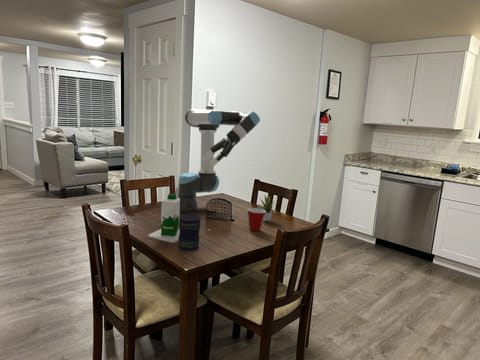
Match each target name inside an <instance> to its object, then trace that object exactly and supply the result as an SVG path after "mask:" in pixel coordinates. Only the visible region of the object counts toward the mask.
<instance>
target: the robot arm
mask: <svg viewBox="0 0 480 360" xmlns="http://www.w3.org/2000/svg"><path fill="white" fill-rule="evenodd" d="M184 120H185V123H186V124H187V125H188V126H190V127H192V128H198V132H200V170H199V171H198V174H197V172H184V173H181V174H180V175H179V176H178V193H177V198H180V212H181V213H182V212H183V213H188V212H189V213H193V212H196V211H198V210H199V204H198V199H197V194H199V193H200V194H201V193H213V192H216V191H217V190H218V188H219V186H220V177H219V175H217V173H216V171H215V170H214V169H215V168H214V167H215V166H216V165H217V164H218V163H219V162H220V161H221V160H222V159H223V158H227V157H228V156H229V154H230V153H231V152H232V150H233V149H234V147H235V146H236V145H238V144H239V143H240V142H241V141H242V139H244V138H245V137H246V136H247V134H249V133H250V132H251V131H252V130H253V129H255V127H257V125H258V124H259V123H260V122H261V118H260V116H259V114H257V113H256V111H252V110H251V111H249V112H248V113H243V112H241V111H238V110H234V111H232V110H231V111H229V110H219V109H202V108H201V109H200V108H199V109H198V108H192V109H190V110H189V109H188V110H187V112H185V115H184ZM220 126H233V127H232V129H231V130H229V131H228V132H227V133H226V137H227V138H224V137H223V138H222V139H220V141H219V142H216V143H215V133H216V132H217V129H219V128H220ZM220 150H221V151H220ZM218 151H220V152H219V153H218V154H217V155H216V156H215V154H216V153H217V152H218Z"/></svg>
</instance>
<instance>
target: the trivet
mask: <svg viewBox="0 0 480 360" xmlns="http://www.w3.org/2000/svg"><path fill="white" fill-rule="evenodd" d="M179 231H180V229H178V232H177V233H176V235H175V236H166V235H161V228H160V229H157V230H155V231H153V232H151V233H149V234H148V235H147V237H148V238H151V239H155V240H160V241H163V242H168V243H171V244H172V243H173V244H175V243H176V242H178V239H179V238H178V237H179Z"/></svg>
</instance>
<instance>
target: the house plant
mask: <svg viewBox="0 0 480 360" xmlns="http://www.w3.org/2000/svg"><path fill="white" fill-rule="evenodd" d="M263 195H264V201H263V200H262V198H261V197H259V196H256V197H258V200H259V201H261V203H262V204H260V203H258V204H257V206H256V207H258V206H259V207H260V209H263V210H265V211H266V213H265V215H264V217H263V220H265V221H268V220H270V221H271V218H272V215H273V209H276V208H274V206H275V204H274V203H275V201H276V200H273V201H272V202H271V197H270V195H267V196H266V195H265V194H263ZM270 203H271V204H270Z"/></svg>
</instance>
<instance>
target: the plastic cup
mask: <svg viewBox="0 0 480 360" xmlns="http://www.w3.org/2000/svg"><path fill="white" fill-rule="evenodd" d="M263 209H264V208H256V207H249V208H246V210H247V214H248V215H247V216H248V225H249V227H248V228H249V230H250V231H251V230H252V231H251V232H260V231H261V227H262V223H263V217H264V215H265V213H266V211H265V210H263ZM259 230H260V231H259Z"/></svg>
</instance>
